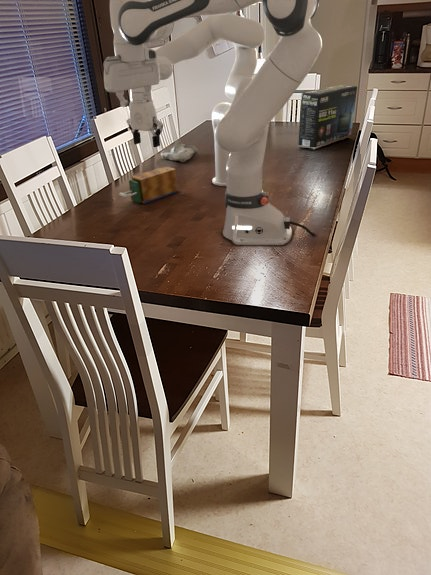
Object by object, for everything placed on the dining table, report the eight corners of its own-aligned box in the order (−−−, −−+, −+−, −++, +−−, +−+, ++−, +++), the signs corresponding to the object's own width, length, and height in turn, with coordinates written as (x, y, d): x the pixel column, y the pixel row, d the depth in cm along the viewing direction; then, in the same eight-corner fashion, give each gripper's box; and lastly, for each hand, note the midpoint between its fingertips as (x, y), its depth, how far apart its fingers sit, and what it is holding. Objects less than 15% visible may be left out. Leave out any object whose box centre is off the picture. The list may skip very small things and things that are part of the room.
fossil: (184, 156, 217) (163, 136, 220) (174, 174, 223) (154, 154, 227) (205, 153, 231) (186, 134, 234) (195, 171, 237) (176, 152, 240)
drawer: (127, 206, 171) (124, 186, 167) (119, 203, 175) (116, 184, 171) (171, 191, 184) (169, 172, 180) (163, 189, 187) (161, 170, 183)
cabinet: (144, 203, 176) (141, 179, 171) (134, 200, 180) (131, 176, 175) (177, 192, 186) (175, 169, 181) (167, 188, 190) (165, 166, 185)
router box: (314, 151, 231) (318, 94, 217) (296, 148, 237) (299, 92, 224) (352, 138, 251) (358, 85, 238) (335, 135, 258) (340, 83, 245)
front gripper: (110, 57, 126) (117, 110, 133) (161, 51, 140) (165, 99, 147) (95, 57, 130) (103, 108, 137) (146, 51, 143) (150, 98, 151)
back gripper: (116, 96, 166) (123, 144, 174) (152, 99, 157) (157, 150, 166) (131, 93, 171) (137, 140, 180) (166, 96, 162) (171, 145, 171)
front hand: (135, 104), depth 142 cm, fingers open, 8 cm apart
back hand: (147, 145), depth 173 cm, fingers open, 9 cm apart
